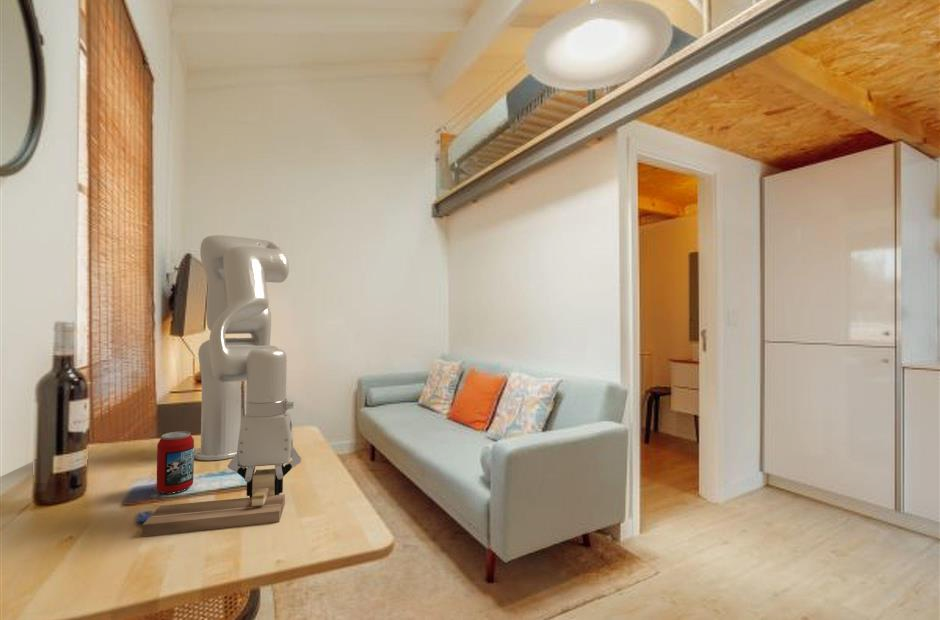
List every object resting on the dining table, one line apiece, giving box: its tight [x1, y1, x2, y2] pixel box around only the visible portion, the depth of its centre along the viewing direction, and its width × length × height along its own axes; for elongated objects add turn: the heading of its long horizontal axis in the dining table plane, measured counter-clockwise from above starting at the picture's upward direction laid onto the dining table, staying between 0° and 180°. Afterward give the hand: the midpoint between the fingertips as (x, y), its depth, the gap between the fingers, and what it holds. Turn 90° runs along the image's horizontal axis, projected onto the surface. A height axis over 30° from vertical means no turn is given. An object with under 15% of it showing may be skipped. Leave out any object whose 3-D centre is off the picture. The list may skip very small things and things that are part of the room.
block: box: [252, 468, 276, 506], centre depth 89 cm, size 10×4×6 cm, turn 16°
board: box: [141, 493, 286, 537], centre depth 84 cm, size 8×22×2 cm, turn 106°
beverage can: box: [156, 431, 195, 494], centre depth 98 cm, size 7×7×12 cm
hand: (264, 496), depth 92 cm, fingers closed on block, 3 cm apart
